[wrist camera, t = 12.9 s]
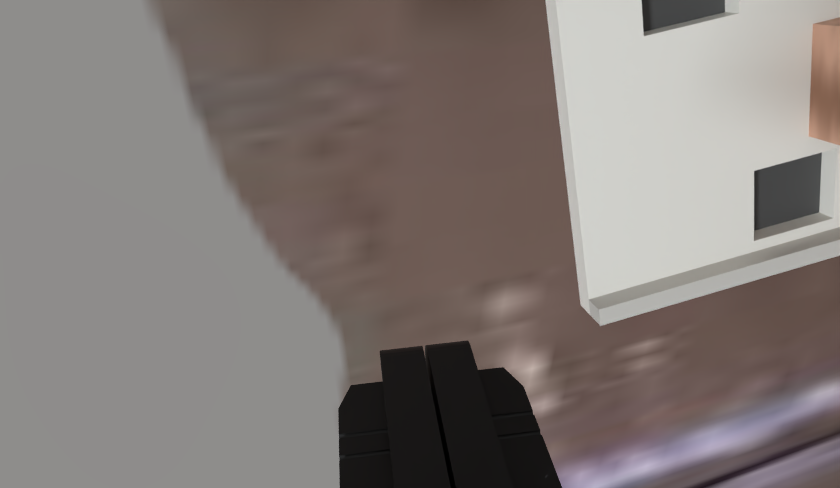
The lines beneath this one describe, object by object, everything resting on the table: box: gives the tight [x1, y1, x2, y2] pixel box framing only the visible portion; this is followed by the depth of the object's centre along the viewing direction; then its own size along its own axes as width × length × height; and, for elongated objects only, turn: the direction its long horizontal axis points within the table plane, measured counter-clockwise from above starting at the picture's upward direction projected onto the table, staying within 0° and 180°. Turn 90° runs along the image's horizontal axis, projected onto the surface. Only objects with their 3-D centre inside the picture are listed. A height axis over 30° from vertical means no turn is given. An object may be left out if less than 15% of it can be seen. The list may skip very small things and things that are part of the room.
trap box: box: [545, 0, 840, 326], centre depth 42 cm, size 24×32×3 cm
